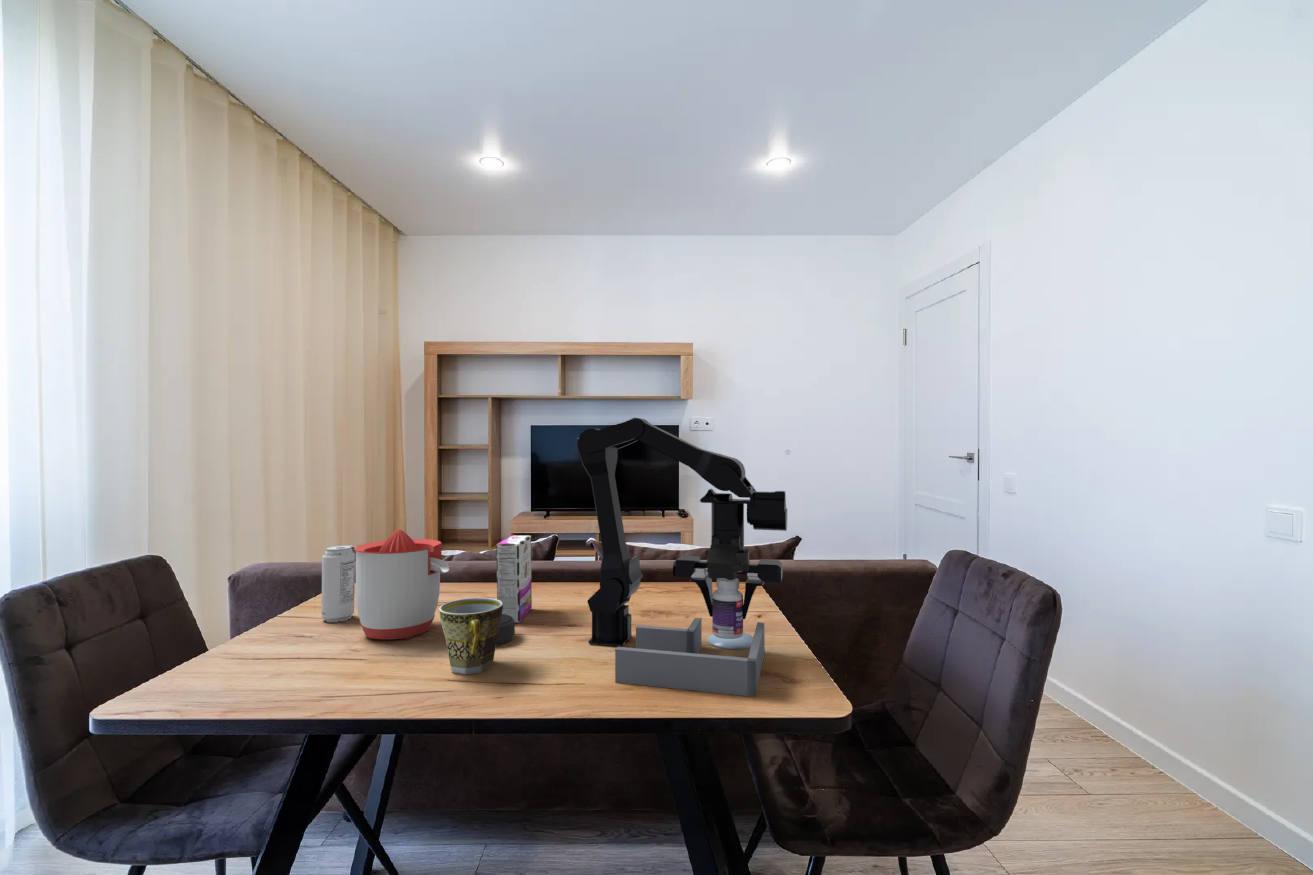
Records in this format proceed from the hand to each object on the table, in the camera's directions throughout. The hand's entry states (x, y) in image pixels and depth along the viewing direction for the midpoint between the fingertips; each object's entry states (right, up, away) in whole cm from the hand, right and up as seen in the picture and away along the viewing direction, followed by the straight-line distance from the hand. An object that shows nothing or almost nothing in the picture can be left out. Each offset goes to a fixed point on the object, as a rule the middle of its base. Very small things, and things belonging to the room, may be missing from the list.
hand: (727, 617), depth 102 cm
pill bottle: (0, -3, 0) cm, 3 cm away
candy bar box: (-43, -7, +22) cm, 48 cm away
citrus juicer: (-62, -7, +11) cm, 63 cm away
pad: (+1, -6, +5) cm, 8 cm away
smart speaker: (-44, -7, +6) cm, 45 cm away
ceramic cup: (-42, -6, -8) cm, 44 cm away
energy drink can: (-79, -7, +20) cm, 82 cm away
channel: (-7, -6, -6) cm, 11 cm away
